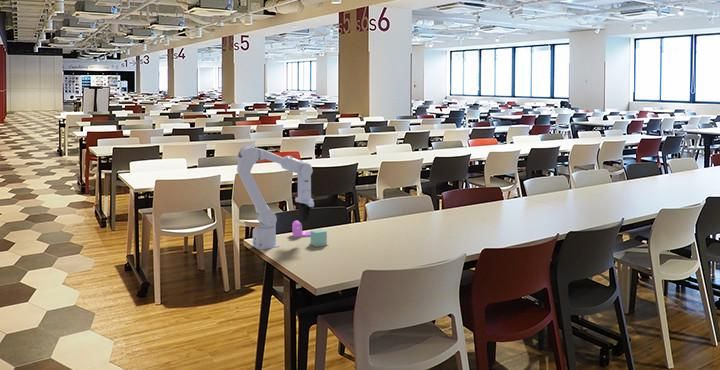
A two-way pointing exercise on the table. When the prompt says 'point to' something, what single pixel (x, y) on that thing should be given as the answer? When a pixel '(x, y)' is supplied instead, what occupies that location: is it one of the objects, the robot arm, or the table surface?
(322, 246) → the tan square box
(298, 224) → the bracket
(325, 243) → the teal cube
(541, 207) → the table surface
